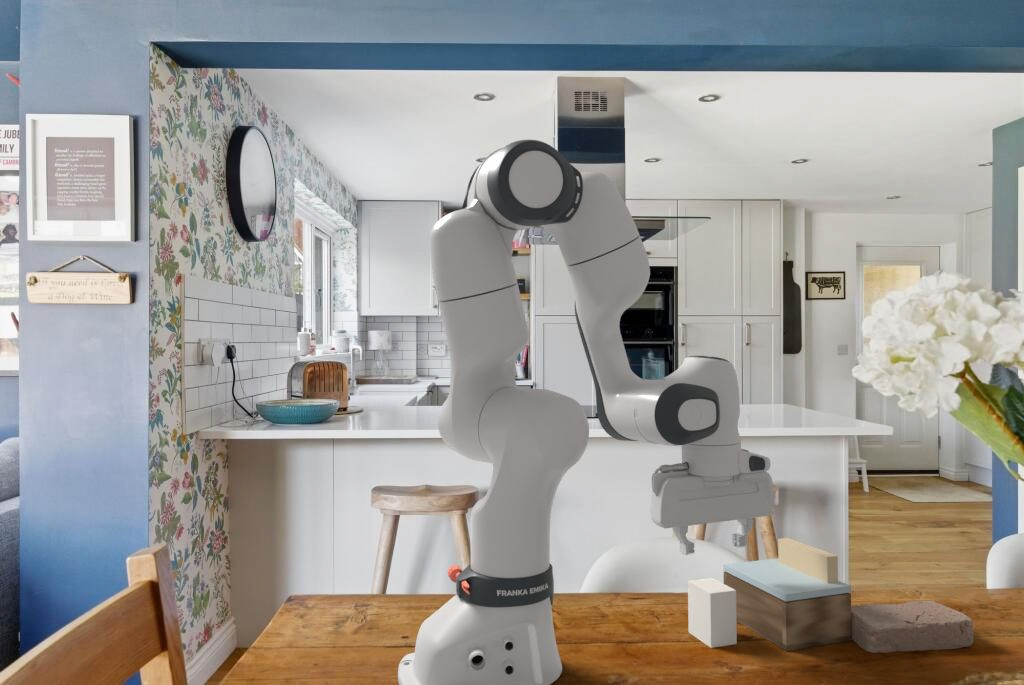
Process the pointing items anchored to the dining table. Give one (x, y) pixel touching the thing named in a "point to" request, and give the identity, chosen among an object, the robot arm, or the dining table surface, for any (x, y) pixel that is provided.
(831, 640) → the dark wood box
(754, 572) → the lid
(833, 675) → the dining table surface
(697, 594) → the block
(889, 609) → the brick
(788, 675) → the dining table surface
